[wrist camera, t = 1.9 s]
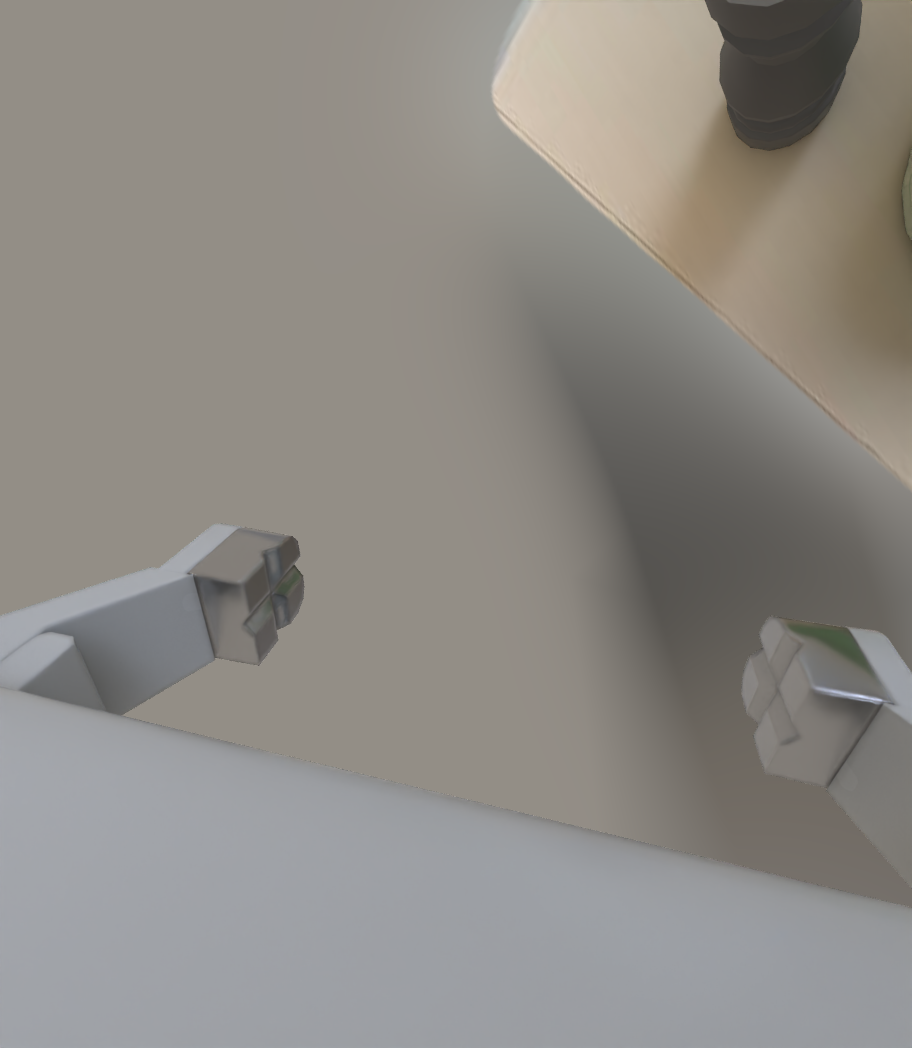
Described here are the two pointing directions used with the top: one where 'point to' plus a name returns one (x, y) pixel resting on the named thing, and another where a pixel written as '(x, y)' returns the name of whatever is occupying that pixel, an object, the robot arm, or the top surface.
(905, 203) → the bowl
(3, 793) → the robot arm
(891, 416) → the top surface
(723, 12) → the candle holder
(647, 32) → the top surface
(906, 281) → the top surface
